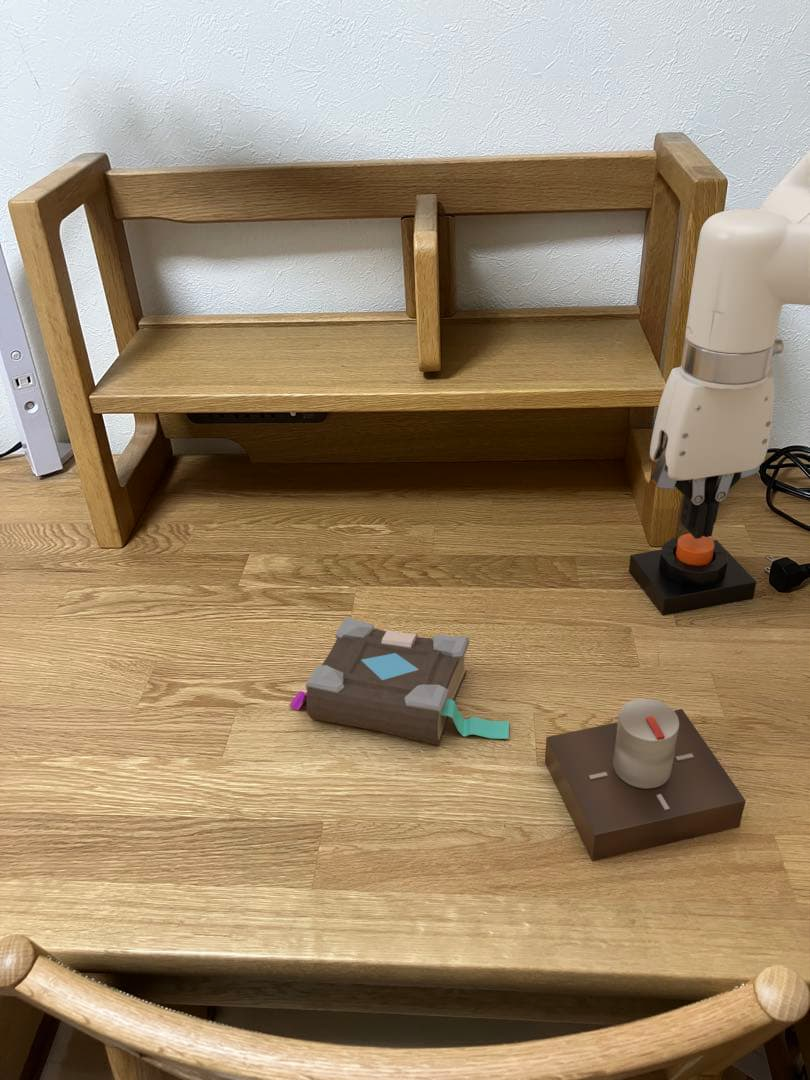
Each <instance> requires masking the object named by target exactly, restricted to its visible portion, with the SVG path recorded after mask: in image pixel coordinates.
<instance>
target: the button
mask: <svg viewBox="0 0 810 1080" xmlns="http://www.w3.org/2000/svg"><path fill="white" fill-rule="evenodd" d="M679 537H680V538H679V539H678V542H677V549H676V557H677V559H678V560H679V561H682V562H684V563H686V564H689V565H697V566H701V565H706V564H709V563H710V562H711V561H712V557H713V552H714V546H715V545H714V542H713V539H711V538H710V537H705V536H702V538H698V539H695V538H694V537H693V536H692V534H691V533H690V532H689V533H684V534H682V535H681V536H679Z"/></svg>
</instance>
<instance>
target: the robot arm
mask: <svg viewBox="0 0 810 1080" xmlns="http://www.w3.org/2000/svg"><path fill="white" fill-rule="evenodd" d="M695 255H696V256H695V262H694V271H693V277H692V278H693V279H692V285H691V293H690V299H689V304H688V305H689V306H688V313H687V319H686V326H685V334H684V339H683V348H682V355H681V361H680V363H681V364H680V366H678V367H674V368H672V369H671V371H670V373H669V375H668V377H667V380H666V382H665V386H664V388H663V390H662V393H661V397H660V401H659V404H658V408H657V412H656V416H655V419H654V424H653V429H652V433H651V434H652V435H651V441H650V447H649V458H650V459H651V461H652V462H655V463H657V464H656V467H655V469H654V471H653V474H652V478H651V481H652V483H654V485H655V486H656V487H657V488H658V489H661V490H673V491H674V490H678V491H679V492H680V493H681V494H682V495H683V500H682V506H681V513H680V523H681V525H682V526H683V527H684V528H685V530H687V532H689V534H690V533H691V534H692V536H693V537H694V538H695V539H698V538H702V536H705V537H709V538H710V537H712V536H713V531H714V527H715V524H716V522H717V517H718V513H719V512H718V511H719V507H720V502H723V501H724V500H726V498H727V496H728V494H729V490H730V489H731V488H733V487H734V485H736V484H737V483H738V482H739V481H740V480H742V479H743V480H744V479H745V478H748V477H751V476H753V475H757V474H758V472H759V471H760V469H761V467H760V466H761V465H762V464H763V463H764V461H765V458H766V455H767V453H768V449H769V445H770V438H771V433H772V427H773V426H772V425H773V417H774V409H775V407H774V406H775V405H774V404H775V382H774V379H775V378H774V372H773V371H772V370H771V364H772V360H773V356H775V355H778V354H782V353H783V351H784V341H783V340H782V338H776V337H777V332H778V327H779V322H780V317H781V312H782V308H783V306H785V305H803V306H810V150H809V151H808V152H807V153H806V154H805V155H803V157H802V158H801V159H800V160H799V161H798V162H797V163H796V164H795V166H794V167H793V168H792V169H791V170H790V171H789V172H788V173H787V174H785V176H784V177H783V178H782V179H781V180H780V182H778V184H777V185H776V186H775V187H774V188H773V190H771V192H770V193H769V194H768V195H767V197H766V198H765V200H764V201H763V202H762V204H761V205H760V206H759V209H752V208H738V209H730V210H729V209H728V210H724V211H719V212H717V213H714V214H713V215H711V216H710V217H708V218H707V219H706V221H705V222H704V223H703V224H702V226H701V229H700V232H699V237H698V241H697V249H696V254H695Z"/></svg>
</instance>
